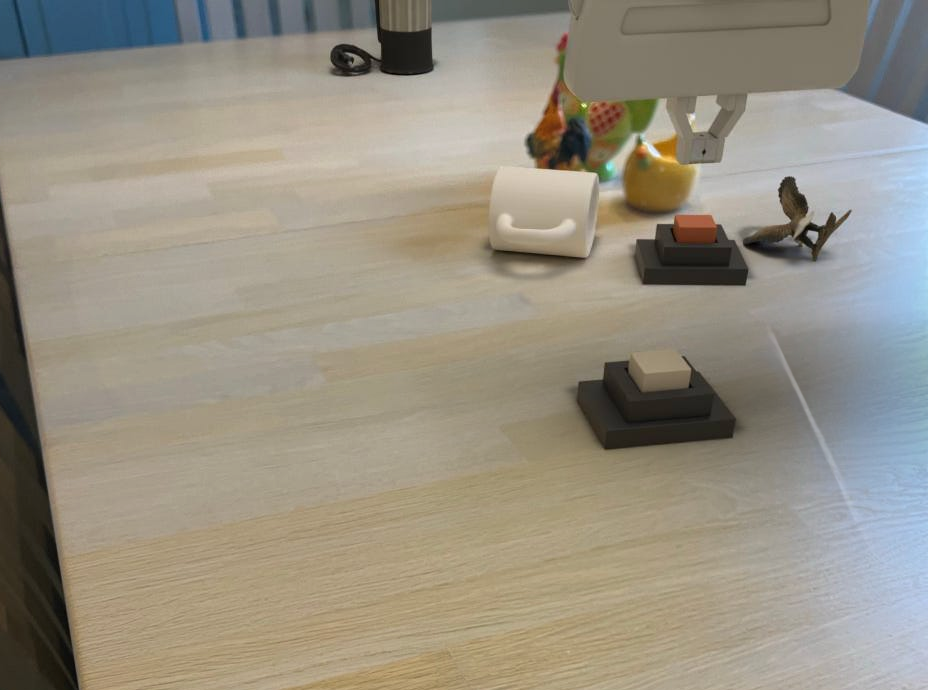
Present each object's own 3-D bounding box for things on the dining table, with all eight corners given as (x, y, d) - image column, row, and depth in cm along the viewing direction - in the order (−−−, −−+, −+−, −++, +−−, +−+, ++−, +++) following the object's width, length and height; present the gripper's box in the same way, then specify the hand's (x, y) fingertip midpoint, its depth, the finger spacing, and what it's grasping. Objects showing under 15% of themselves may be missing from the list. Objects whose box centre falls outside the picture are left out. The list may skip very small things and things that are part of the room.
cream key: (672, 369, 78) (675, 348, 77) (688, 390, 75) (691, 369, 74) (627, 373, 78) (630, 351, 77) (641, 395, 75) (644, 373, 74)
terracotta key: (708, 232, 101) (711, 214, 100) (714, 245, 98) (717, 227, 97) (672, 232, 101) (674, 214, 100) (676, 245, 99) (679, 226, 97)
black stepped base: (695, 390, 82) (702, 349, 80) (732, 438, 76) (741, 396, 74) (576, 400, 81) (579, 359, 79) (604, 450, 75) (609, 408, 73)
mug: (504, 234, 110) (506, 156, 105) (595, 242, 108) (602, 162, 103) (477, 275, 101) (478, 191, 96) (576, 284, 99) (582, 200, 94)
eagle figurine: (851, 237, 105) (782, 200, 109) (854, 189, 99) (781, 151, 103) (800, 290, 105) (733, 251, 109) (800, 245, 99) (729, 205, 103)
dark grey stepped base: (731, 256, 105) (737, 221, 102) (745, 286, 99) (752, 250, 96) (634, 255, 105) (638, 220, 103) (642, 285, 99) (646, 249, 97)
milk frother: (446, 68, 171) (445, -36, 162) (378, 85, 163) (373, -25, 153) (387, 56, 179) (383, -44, 169) (320, 72, 170) (311, -34, 160)
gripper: (583, -58, 61) (569, 184, 70) (902, -71, 63) (848, 165, 72) (558, -70, 66) (548, 158, 75) (855, -81, 68) (810, 141, 77)
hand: (697, 162), depth 73 cm, fingers closed
